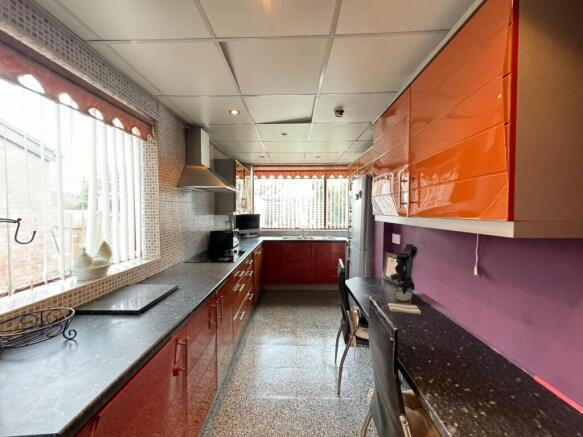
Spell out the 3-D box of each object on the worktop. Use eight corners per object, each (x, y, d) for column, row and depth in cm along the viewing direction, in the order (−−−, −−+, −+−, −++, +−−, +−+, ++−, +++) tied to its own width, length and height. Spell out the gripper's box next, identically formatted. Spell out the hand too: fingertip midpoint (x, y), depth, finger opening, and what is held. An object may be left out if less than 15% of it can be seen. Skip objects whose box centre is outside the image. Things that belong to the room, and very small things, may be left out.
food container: (409, 301, 190) (409, 287, 189) (412, 304, 184) (413, 290, 183) (392, 300, 191) (392, 286, 191) (394, 303, 185) (394, 289, 185)
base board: (388, 304, 182) (388, 303, 181) (415, 307, 178) (415, 305, 178) (391, 311, 170) (391, 309, 170) (420, 313, 166) (421, 311, 166)
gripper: (388, 267, 197) (388, 287, 198) (393, 272, 179) (393, 295, 180) (404, 267, 195) (403, 288, 196) (411, 273, 177) (410, 296, 177)
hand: (402, 292), depth 187 cm, fingers open, 9 cm apart
